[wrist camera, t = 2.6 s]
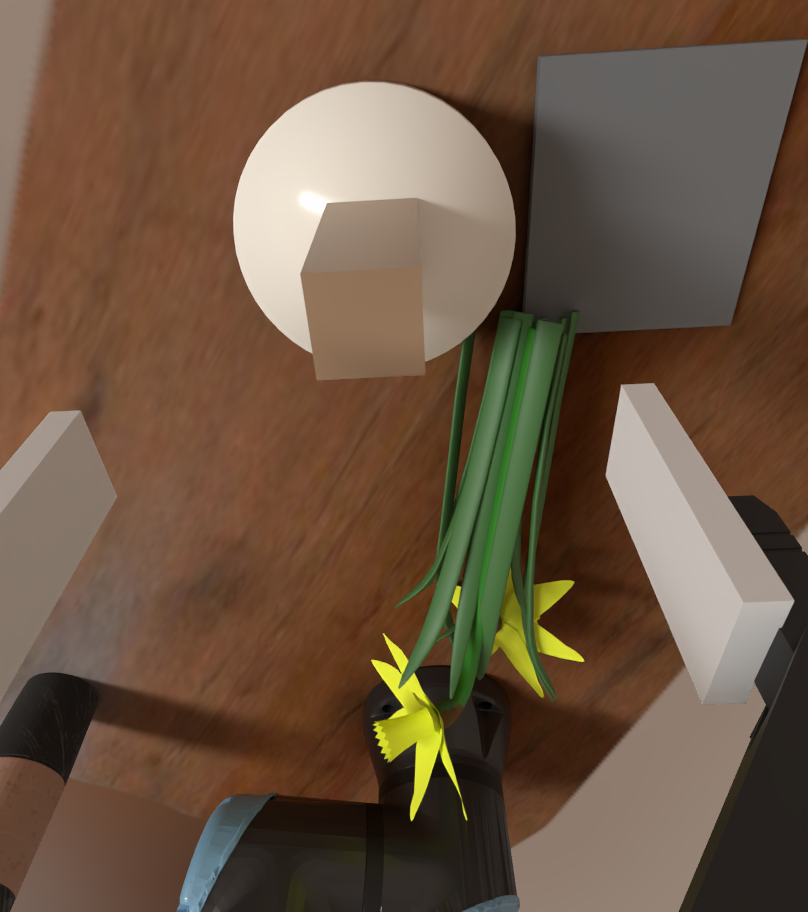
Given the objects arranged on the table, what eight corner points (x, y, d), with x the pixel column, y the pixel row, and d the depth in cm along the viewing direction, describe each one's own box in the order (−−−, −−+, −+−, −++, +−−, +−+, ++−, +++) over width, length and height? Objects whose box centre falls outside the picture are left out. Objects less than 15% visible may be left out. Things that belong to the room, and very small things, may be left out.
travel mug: (70, 664, 61) (-50, 903, 45) (116, 706, 65) (22, 939, 49) (6, 679, 62) (-133, 917, 46) (55, 720, 67) (-57, 950, 50)
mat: (725, 320, 40) (730, 325, 39) (521, 330, 40) (523, 335, 40) (799, 38, 31) (808, 39, 31) (537, 55, 32) (540, 56, 31)
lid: (506, 353, 34) (540, 467, 25) (266, 365, 34) (223, 481, 26) (519, 70, 26) (573, 101, 18) (209, 90, 26) (122, 129, 18)
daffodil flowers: (690, 322, 40) (568, 732, 53) (482, 283, 46) (418, 658, 59) (643, 359, 26) (494, 902, 39) (354, 296, 32) (308, 783, 46)
